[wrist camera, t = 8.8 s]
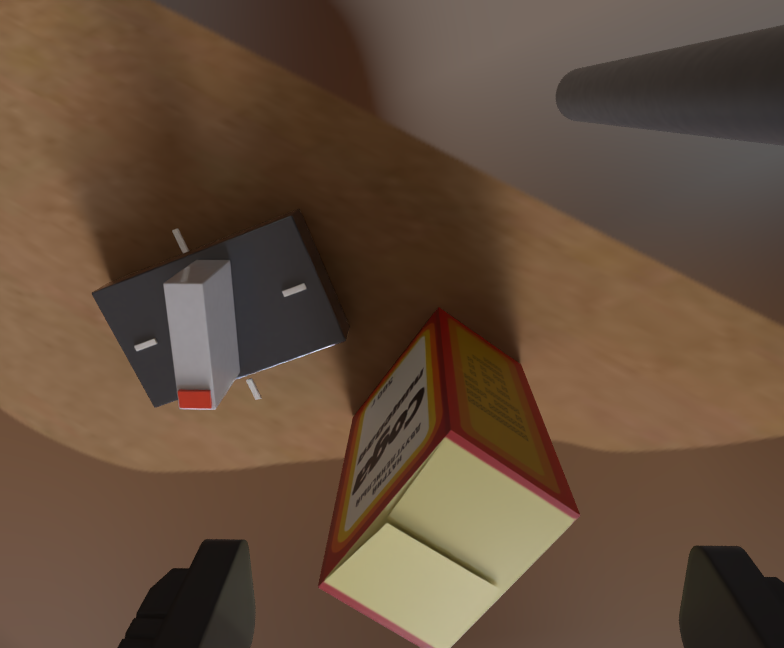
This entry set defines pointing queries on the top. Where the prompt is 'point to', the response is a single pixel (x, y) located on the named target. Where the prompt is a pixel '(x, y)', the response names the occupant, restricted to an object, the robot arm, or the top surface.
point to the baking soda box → (443, 489)
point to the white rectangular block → (202, 332)
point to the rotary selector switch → (251, 303)
